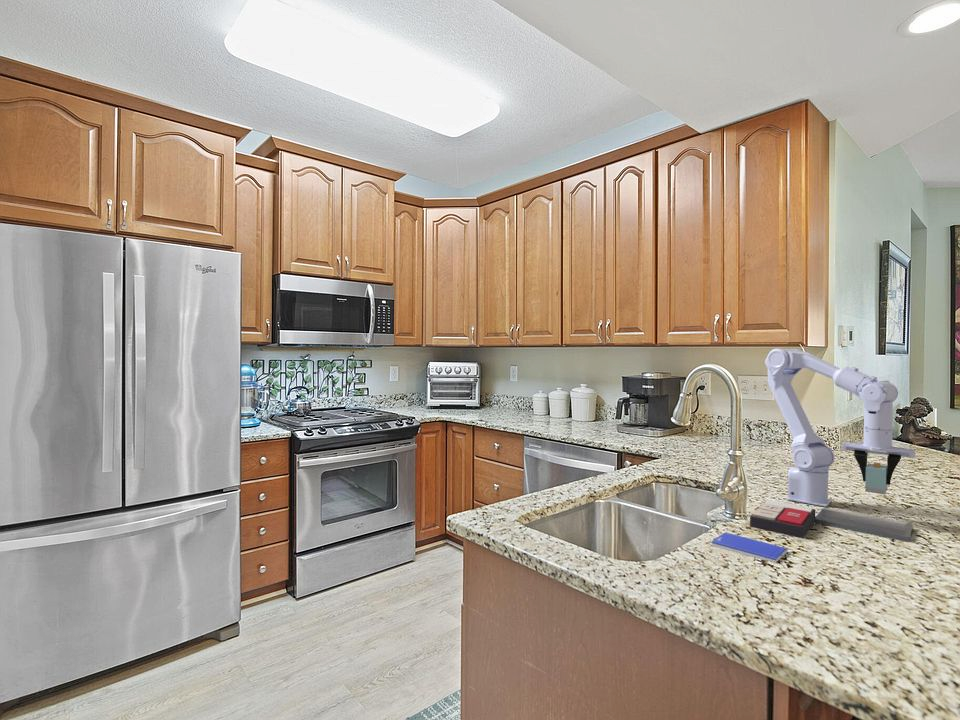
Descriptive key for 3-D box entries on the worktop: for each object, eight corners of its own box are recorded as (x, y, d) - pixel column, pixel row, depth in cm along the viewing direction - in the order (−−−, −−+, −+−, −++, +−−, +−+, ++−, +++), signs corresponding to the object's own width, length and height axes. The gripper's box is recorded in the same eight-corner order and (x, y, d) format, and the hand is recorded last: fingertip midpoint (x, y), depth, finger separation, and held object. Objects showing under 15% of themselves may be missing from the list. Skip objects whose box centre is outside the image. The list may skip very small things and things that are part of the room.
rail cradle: (813, 522, 125) (814, 512, 125) (823, 511, 134) (823, 502, 134) (909, 541, 113) (909, 530, 113) (912, 528, 122) (913, 518, 122)
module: (865, 491, 128) (865, 463, 128) (867, 487, 133) (868, 460, 133) (885, 494, 126) (886, 466, 126) (887, 489, 130) (888, 462, 130)
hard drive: (711, 540, 110) (775, 558, 101) (725, 531, 115) (787, 547, 107) (711, 547, 110) (775, 565, 101) (725, 538, 116) (787, 554, 107)
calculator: (749, 512, 122) (766, 496, 133) (749, 530, 122) (765, 513, 133) (803, 523, 115) (815, 506, 126) (802, 542, 115) (815, 523, 126)
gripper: (840, 427, 131) (839, 480, 131) (914, 433, 121) (913, 490, 121) (844, 424, 136) (843, 475, 136) (915, 430, 126) (914, 485, 127)
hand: (876, 482), depth 129 cm, fingers closed on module, 4 cm apart
